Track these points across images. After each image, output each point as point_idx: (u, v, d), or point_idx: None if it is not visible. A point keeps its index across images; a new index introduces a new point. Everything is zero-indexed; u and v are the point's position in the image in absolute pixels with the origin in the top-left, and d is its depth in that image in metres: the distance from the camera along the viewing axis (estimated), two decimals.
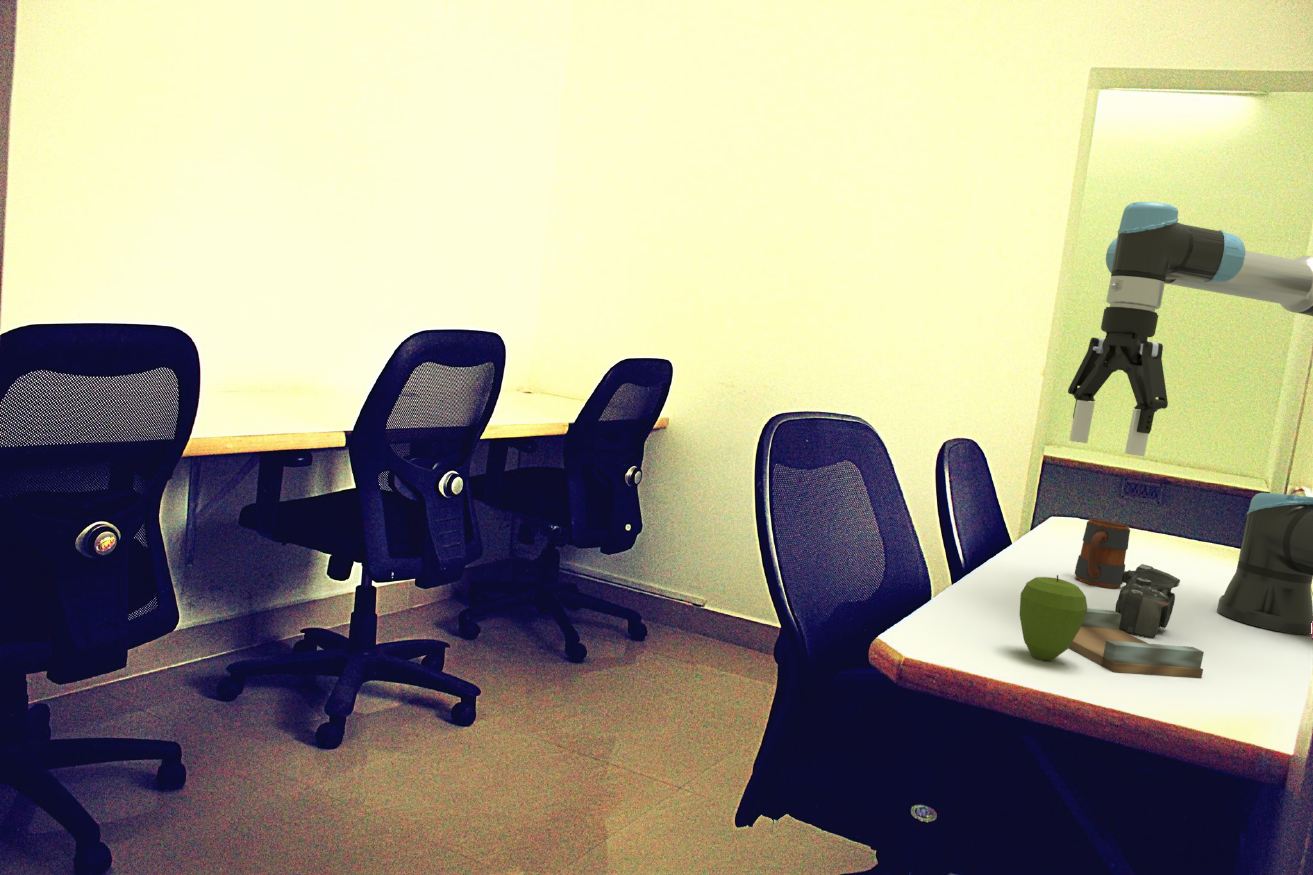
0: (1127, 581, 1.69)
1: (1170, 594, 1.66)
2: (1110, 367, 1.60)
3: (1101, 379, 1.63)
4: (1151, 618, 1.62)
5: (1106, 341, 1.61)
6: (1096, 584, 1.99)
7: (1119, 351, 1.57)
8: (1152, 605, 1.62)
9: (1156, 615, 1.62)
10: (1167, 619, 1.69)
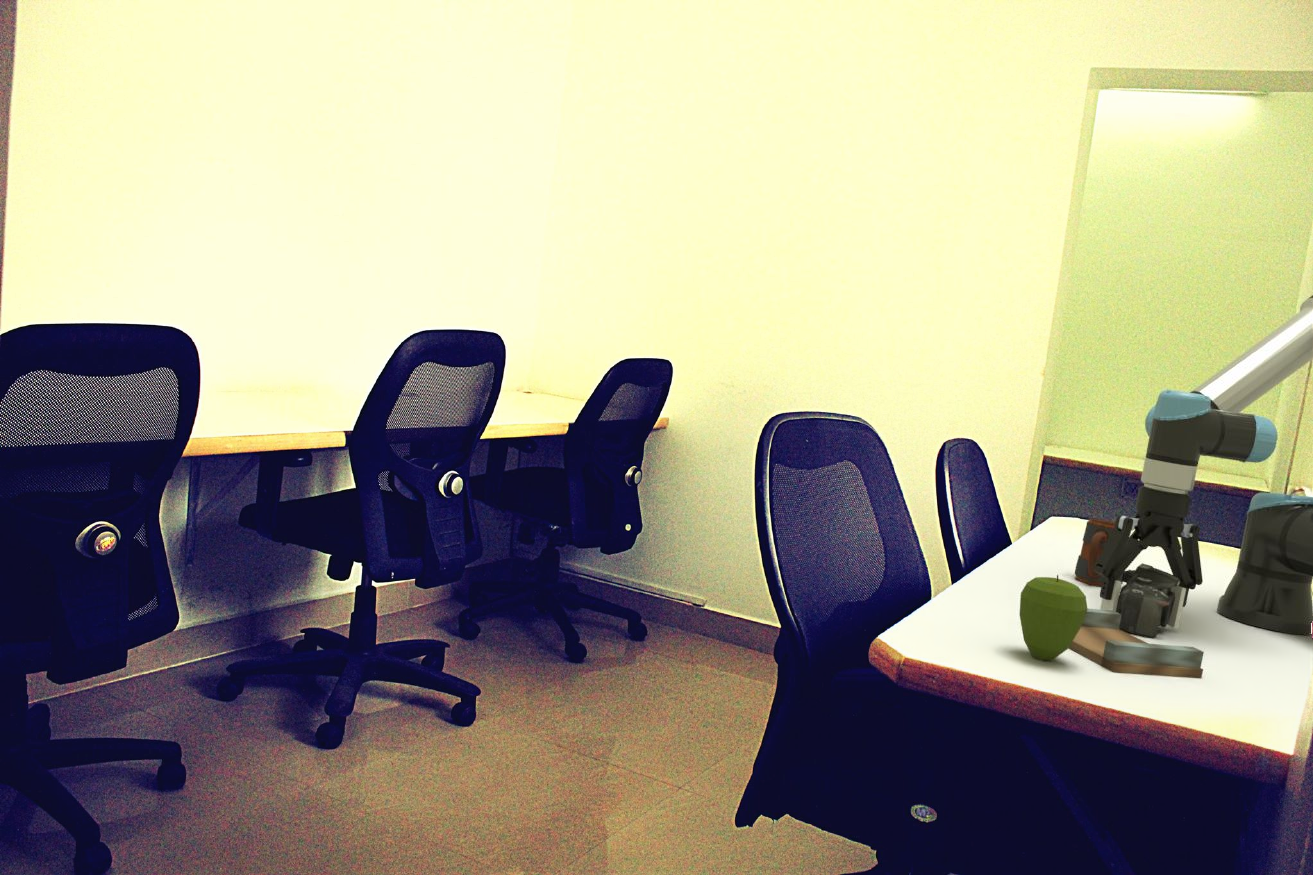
0: (1127, 580, 1.69)
1: (1170, 593, 1.67)
2: None
3: (1173, 560, 1.68)
4: (1152, 618, 1.62)
5: None
6: (1096, 584, 1.99)
7: None
8: (1153, 604, 1.62)
9: (1157, 615, 1.62)
10: (1167, 618, 1.69)
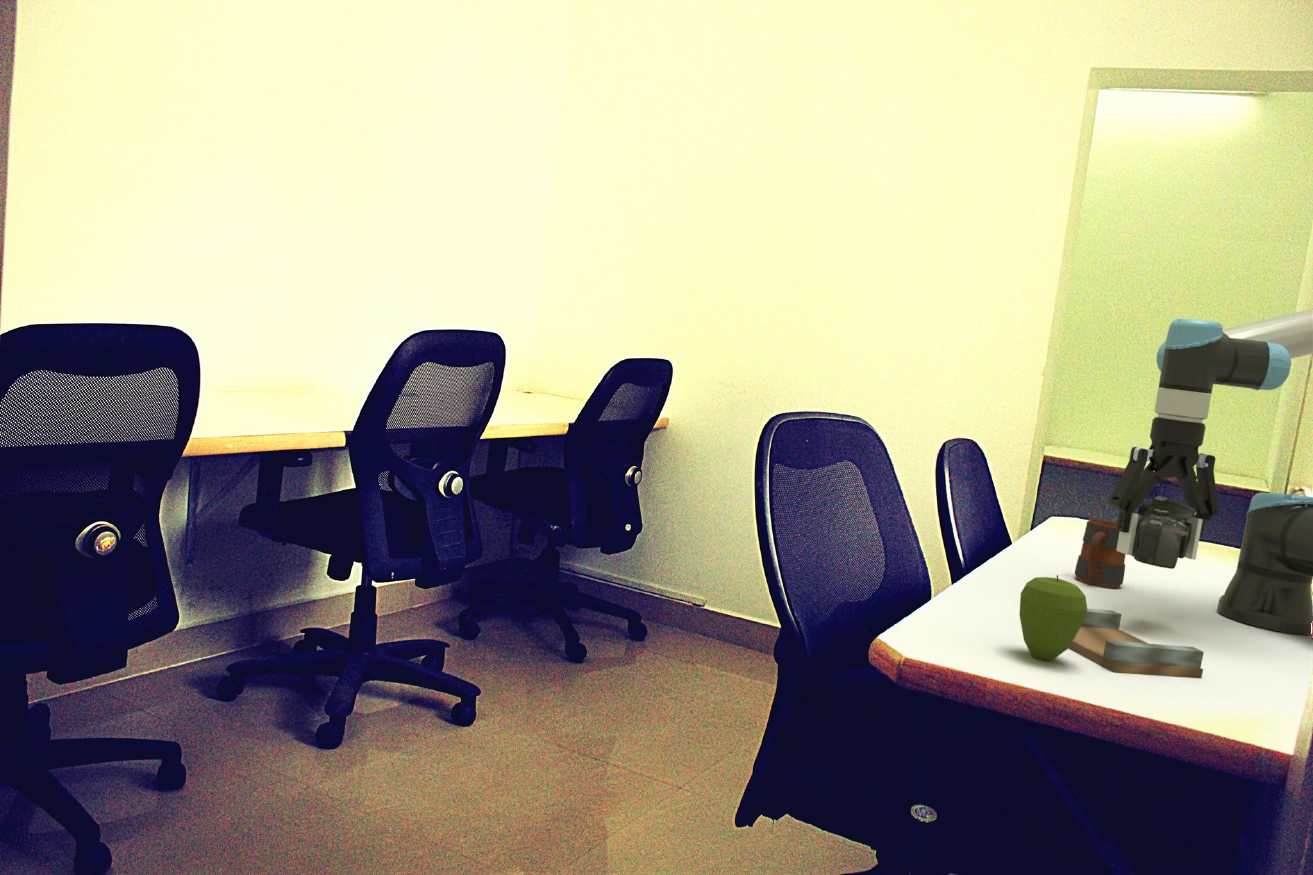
0: (1144, 513, 1.68)
1: (1187, 524, 1.65)
2: None
3: (1188, 491, 1.67)
4: (1171, 548, 1.61)
5: None
6: (1096, 584, 1.99)
7: None
8: (1172, 534, 1.61)
9: (1176, 545, 1.61)
10: (1184, 550, 1.68)
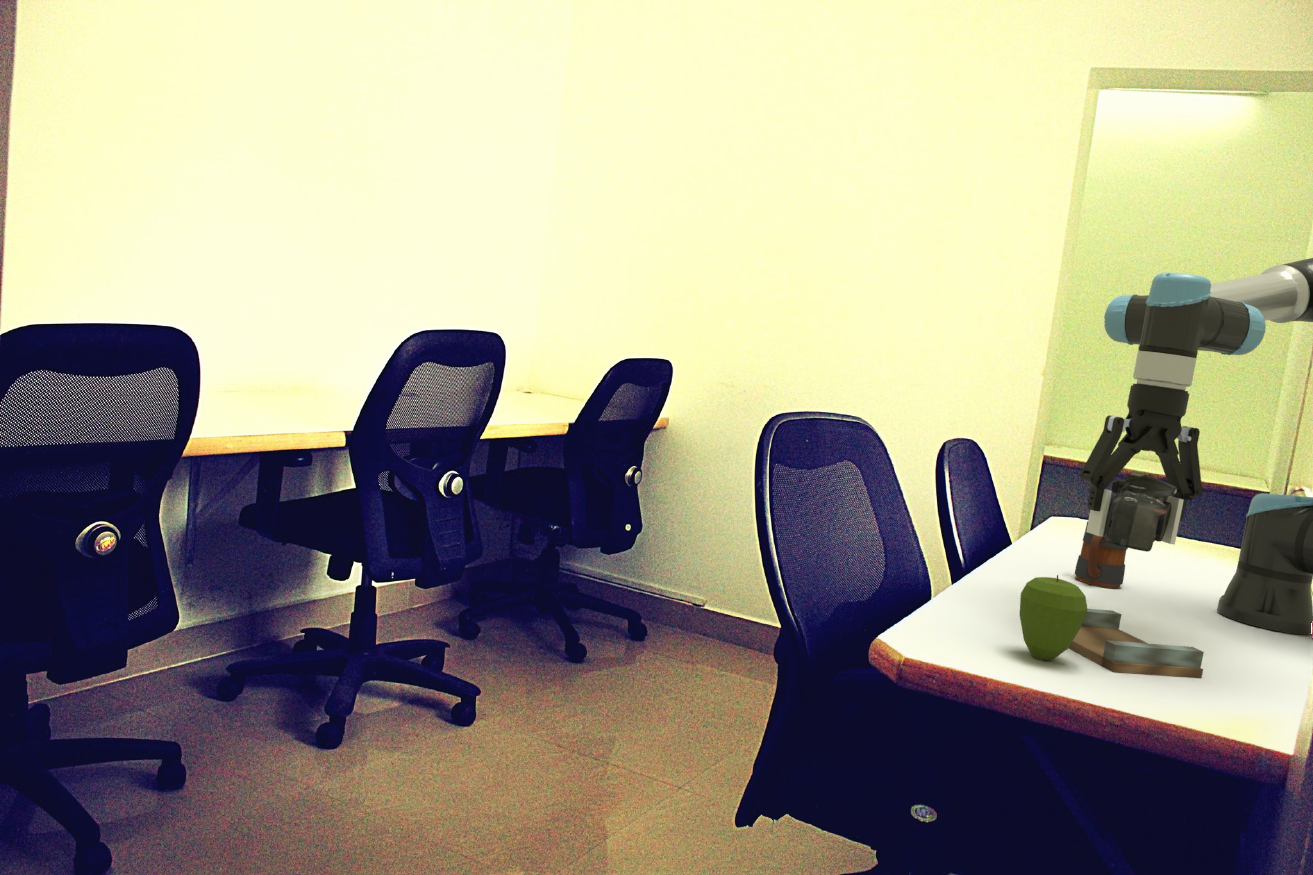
0: (1118, 490, 1.50)
1: (1166, 503, 1.48)
2: None
3: (1169, 468, 1.50)
4: (1146, 528, 1.43)
5: None
6: (1096, 584, 1.99)
7: None
8: (1148, 513, 1.43)
9: (1152, 525, 1.43)
10: (1162, 532, 1.50)
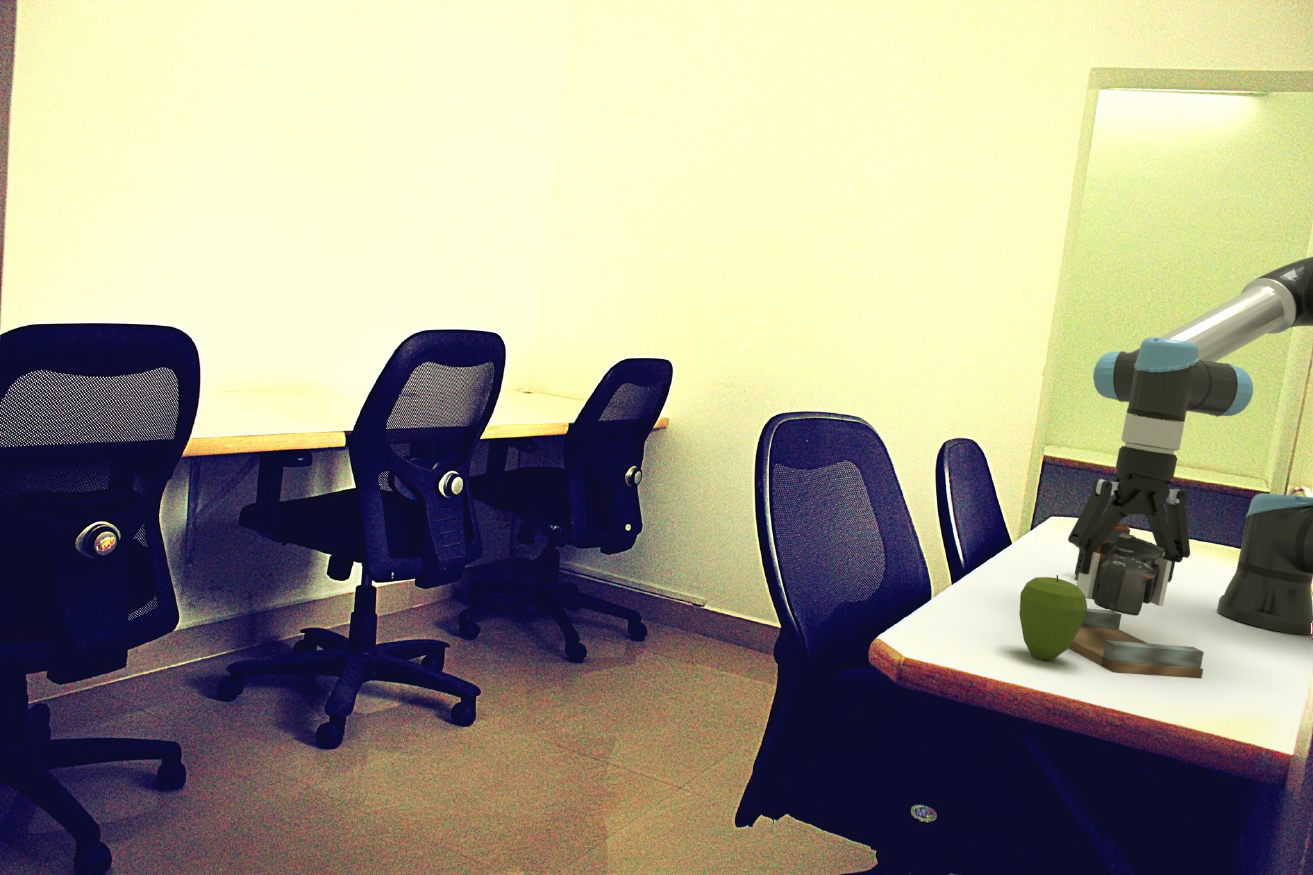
0: (1107, 552, 1.51)
1: (1154, 566, 1.48)
2: None
3: (1157, 530, 1.50)
4: (1135, 593, 1.44)
5: None
6: None
7: None
8: (1136, 578, 1.44)
9: (1140, 589, 1.44)
10: (1151, 594, 1.51)
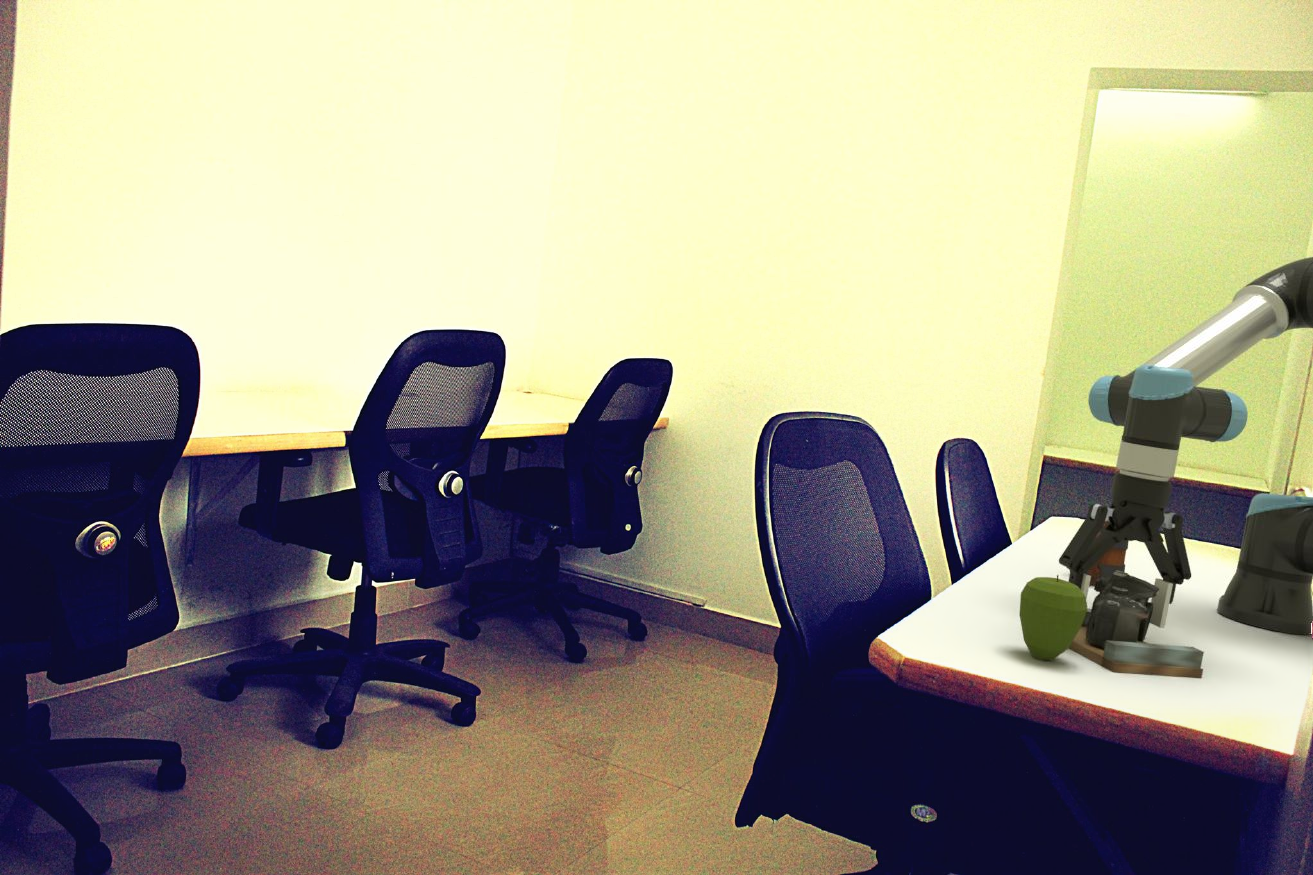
0: (1101, 590, 1.52)
1: (1148, 604, 1.49)
2: None
3: (1155, 554, 1.51)
4: (1129, 632, 1.45)
5: None
6: None
7: None
8: (1130, 617, 1.44)
9: (1134, 629, 1.45)
10: (1144, 632, 1.51)
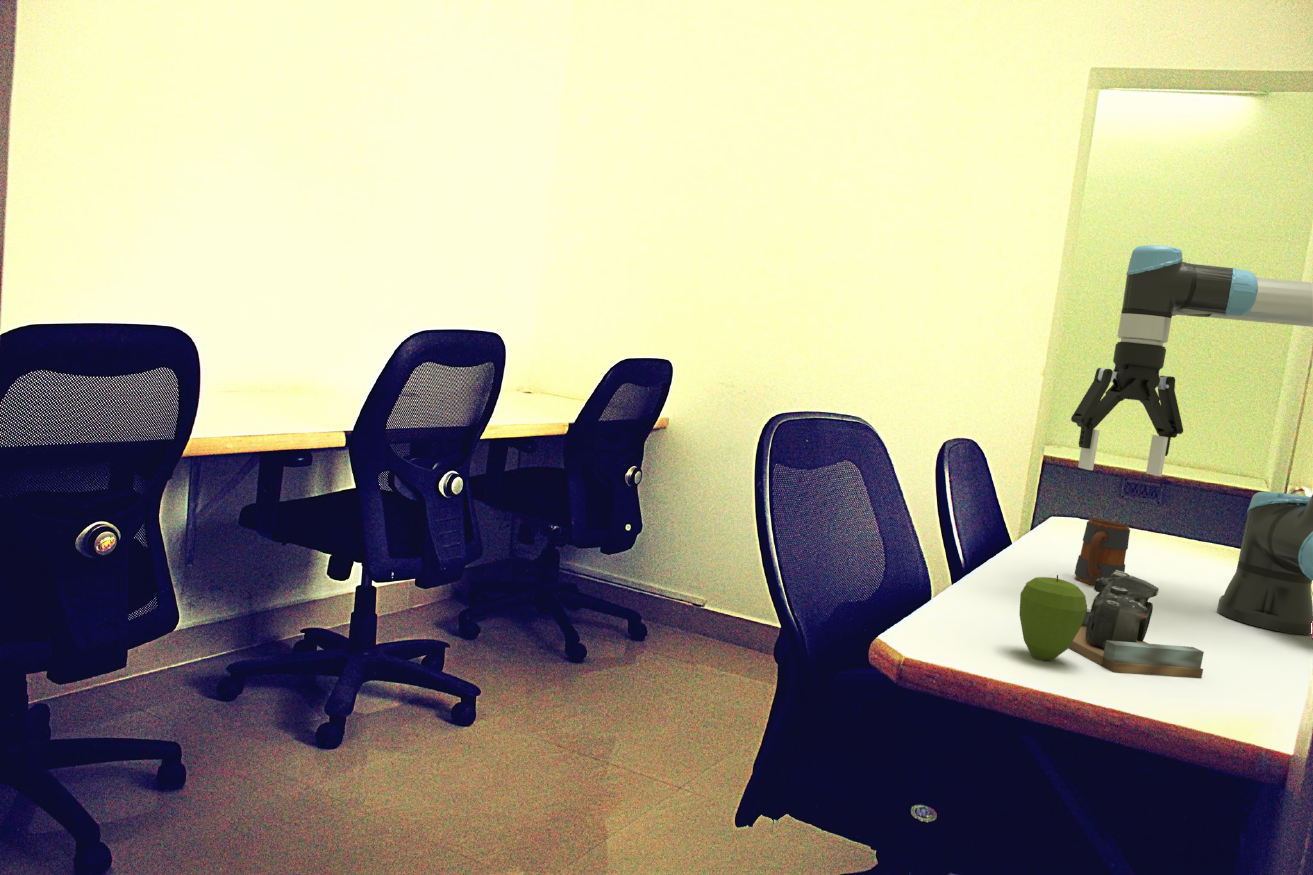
0: (1100, 590, 1.52)
1: (1148, 604, 1.49)
2: None
3: (1153, 412, 1.73)
4: (1128, 632, 1.45)
5: None
6: None
7: None
8: (1130, 617, 1.45)
9: (1134, 629, 1.45)
10: (1144, 632, 1.51)
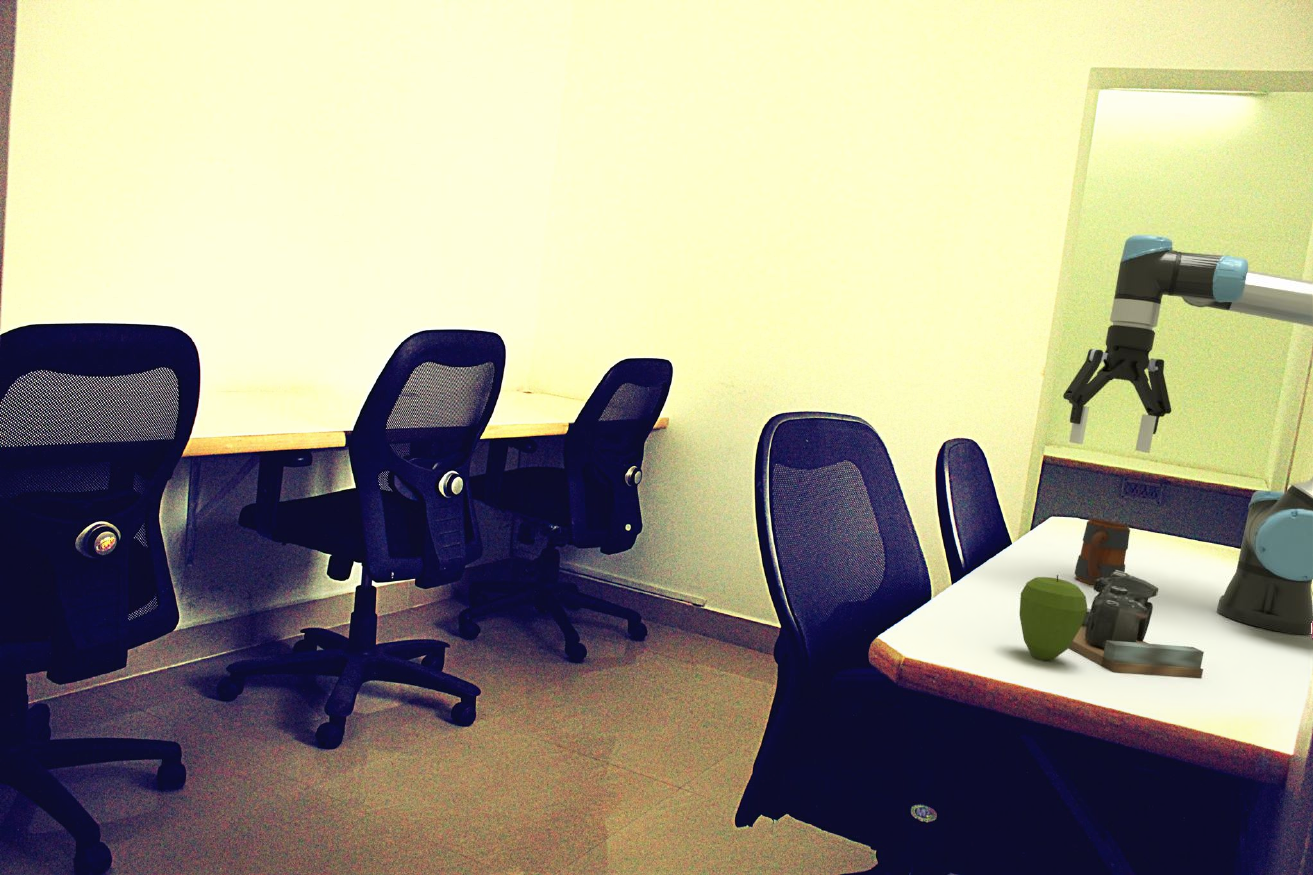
0: (1100, 590, 1.52)
1: (1148, 604, 1.49)
2: None
3: (1142, 392, 1.85)
4: (1128, 632, 1.45)
5: None
6: None
7: None
8: (1129, 617, 1.45)
9: (1134, 628, 1.45)
10: (1144, 631, 1.51)
